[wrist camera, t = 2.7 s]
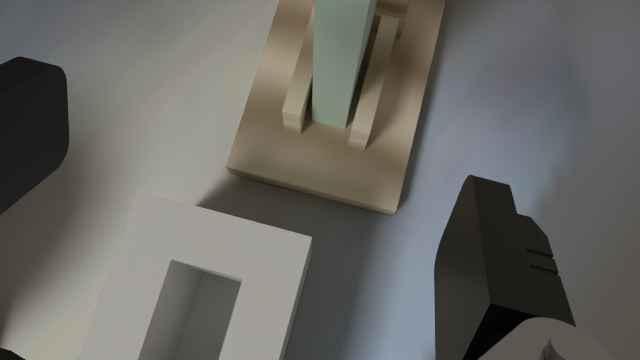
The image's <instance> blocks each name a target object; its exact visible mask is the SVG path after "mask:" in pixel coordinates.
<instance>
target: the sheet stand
mask: <svg viewBox="0 0 640 360" xmlns="http://www.w3.org/2000/svg"><path fill="white" fill-rule="evenodd" d="M311 250H312V237H310V236H306V235H303V234H299V233H295V232H291V231H288V230H284V229H280V228H277V227H273V226H269V225H265V224H262V223H258V222H254V221H251V220H247V219H243V218H239V217H236V216H232V215H228V214H224V213H221V212H217V211H213V210H210V209H206V208H202V207H198V206H195V205H191V204H187V203H183V202H180V201H176V200H172V199H169V198H165V197H161V196H157V195H154V194H150V193H146V192H143V191H139V190H138V191H137V194H136V196H135V199H134V202H133V205H132V208H131V210H130V213H129V216H128V219H127V222H126V224H125V227H124V230H123V233H122V235H121V238H120V241H119V244H118V247H117V249H116V252H115V255H114V258H113V260H112V263H111V266H110V269H109V272H108V274H107V277H106V280H105V283H104V286H103V288H102V291H101V294H100V297H99V299H98V302H97V305H96V308H95V311H94V313H93V316H92V319H91V322H90V324H89V327H88V330H87V333H86V336H85V338H84V341H83V344H82V347H81V349H80V352H79V355H78V358H77V360H284V356H285V352H286V348H287V345H288V341H289V337H290V334H291V330H292V326H293V322H294V319H295V315H296V311H297V308H298V304H299V300H300V297H301V293H302V289H303V285H304V282H305V278H306V274H307V271H308V267H309V263H310V259H311Z"/></svg>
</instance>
